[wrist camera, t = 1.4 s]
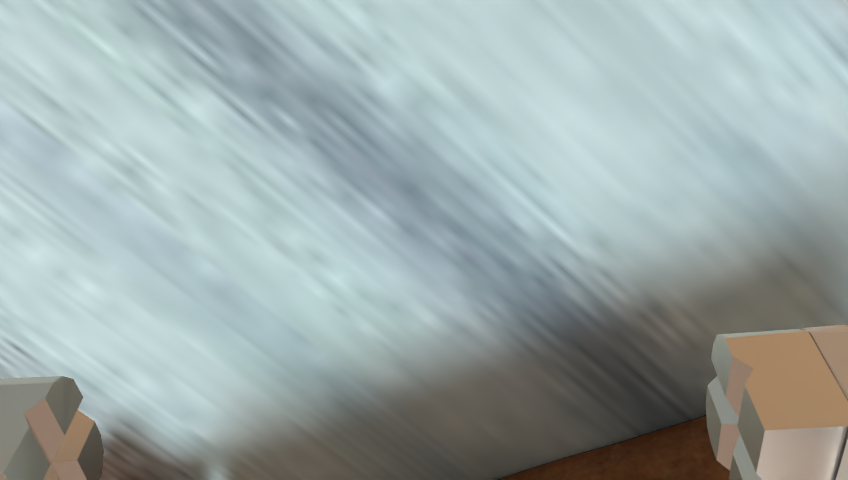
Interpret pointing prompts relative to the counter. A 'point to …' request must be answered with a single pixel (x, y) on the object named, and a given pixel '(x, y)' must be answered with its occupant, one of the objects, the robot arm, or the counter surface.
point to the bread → (641, 459)
